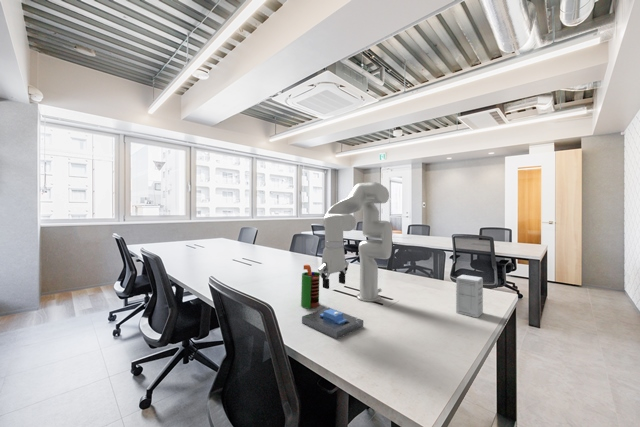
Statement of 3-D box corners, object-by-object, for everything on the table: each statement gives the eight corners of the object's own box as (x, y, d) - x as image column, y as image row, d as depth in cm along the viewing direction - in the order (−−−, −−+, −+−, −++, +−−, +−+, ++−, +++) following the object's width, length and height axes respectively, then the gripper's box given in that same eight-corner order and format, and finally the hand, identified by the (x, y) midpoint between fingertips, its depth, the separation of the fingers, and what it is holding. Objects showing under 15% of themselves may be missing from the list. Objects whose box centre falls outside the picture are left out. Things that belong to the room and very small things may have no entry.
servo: (327, 319, 120) (327, 306, 120) (347, 328, 112) (347, 314, 112) (319, 322, 117) (319, 309, 117) (339, 331, 109) (339, 316, 109)
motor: (316, 309, 132) (317, 267, 132) (298, 307, 134) (299, 266, 134) (320, 302, 142) (321, 263, 142) (304, 301, 144) (304, 263, 144)
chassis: (328, 313, 127) (328, 307, 127) (363, 326, 113) (363, 320, 113) (301, 322, 116) (302, 316, 116) (336, 339, 102) (336, 331, 102)
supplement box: (483, 313, 130) (483, 277, 130) (478, 318, 123) (478, 280, 123) (461, 307, 137) (461, 274, 137) (455, 312, 130) (456, 277, 130)
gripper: (341, 241, 123) (341, 279, 123) (312, 246, 111) (312, 288, 111) (354, 243, 117) (354, 283, 118) (325, 248, 105) (325, 292, 106)
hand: (334, 285), depth 115 cm, fingers open, 9 cm apart
